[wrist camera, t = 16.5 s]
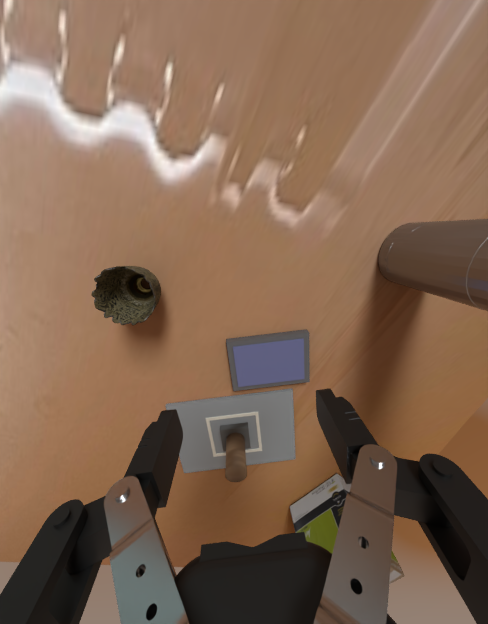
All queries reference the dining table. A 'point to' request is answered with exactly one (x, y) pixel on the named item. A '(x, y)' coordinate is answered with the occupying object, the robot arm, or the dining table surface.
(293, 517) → the tea box
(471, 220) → the robot arm
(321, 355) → the dining table surface
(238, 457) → the stamp
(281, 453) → the board
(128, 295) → the cup
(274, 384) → the ink pad
